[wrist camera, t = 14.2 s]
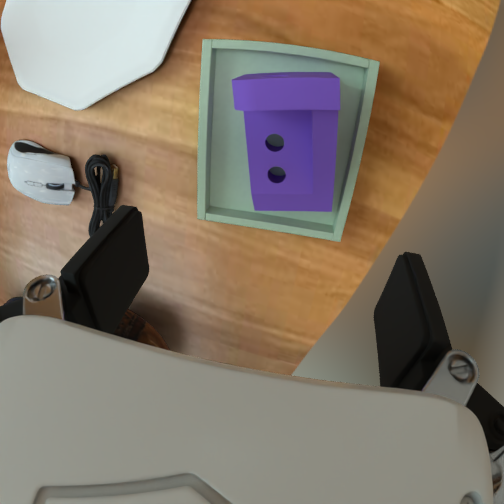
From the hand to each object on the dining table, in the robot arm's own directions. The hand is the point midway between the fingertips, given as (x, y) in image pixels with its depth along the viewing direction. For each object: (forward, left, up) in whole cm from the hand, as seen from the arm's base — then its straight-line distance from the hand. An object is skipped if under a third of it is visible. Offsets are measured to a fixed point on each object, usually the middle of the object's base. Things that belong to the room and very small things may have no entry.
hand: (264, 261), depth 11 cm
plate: (+21, -14, -19) cm, 31 cm away
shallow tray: (+1, +1, -18) cm, 18 cm away
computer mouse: (+26, +7, -19) cm, 33 cm away
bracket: (0, +1, -18) cm, 18 cm away
